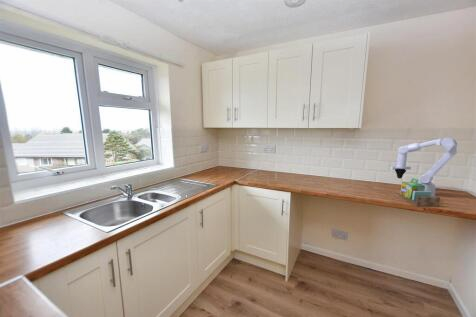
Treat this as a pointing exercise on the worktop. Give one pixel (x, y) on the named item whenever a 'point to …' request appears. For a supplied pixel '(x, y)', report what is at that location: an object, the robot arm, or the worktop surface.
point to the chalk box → (411, 188)
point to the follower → (420, 194)
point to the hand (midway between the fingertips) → (399, 178)
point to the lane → (421, 200)
